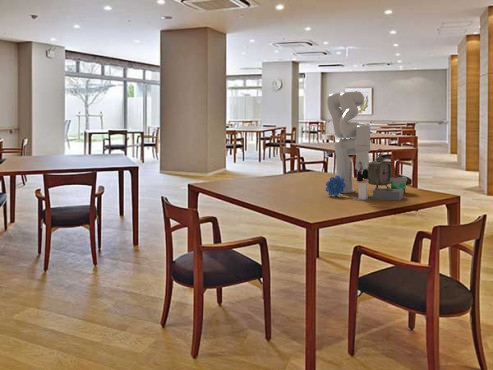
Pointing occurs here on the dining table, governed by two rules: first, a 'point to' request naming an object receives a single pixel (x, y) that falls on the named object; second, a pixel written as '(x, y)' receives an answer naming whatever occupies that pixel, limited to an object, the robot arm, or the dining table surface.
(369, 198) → the mat
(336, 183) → the blue gear
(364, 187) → the plug
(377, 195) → the grey rectangular box
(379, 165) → the tabletop clock
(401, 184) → the food container
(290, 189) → the dining table surface
